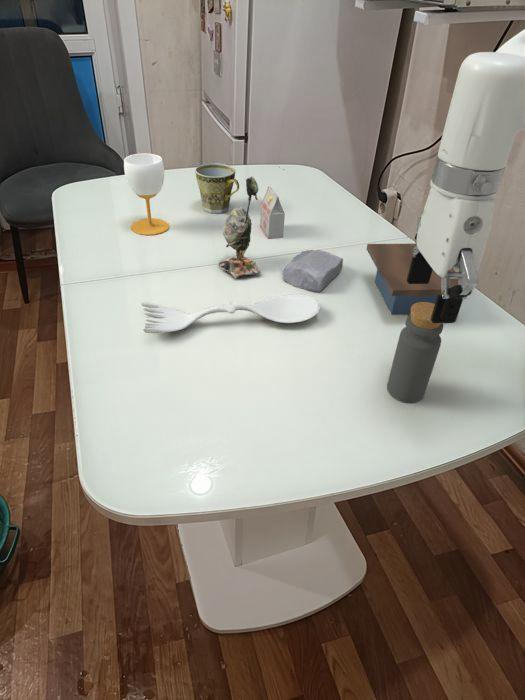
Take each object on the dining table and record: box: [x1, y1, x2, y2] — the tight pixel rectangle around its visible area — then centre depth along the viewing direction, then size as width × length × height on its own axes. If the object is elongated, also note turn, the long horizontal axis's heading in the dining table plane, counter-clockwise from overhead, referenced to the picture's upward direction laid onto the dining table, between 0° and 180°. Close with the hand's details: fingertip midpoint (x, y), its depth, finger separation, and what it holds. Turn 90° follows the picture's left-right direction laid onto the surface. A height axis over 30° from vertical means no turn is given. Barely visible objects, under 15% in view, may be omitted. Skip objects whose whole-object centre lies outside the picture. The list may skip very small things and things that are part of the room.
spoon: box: [140, 293, 321, 334], centre depth 92 cm, size 9×32×4 cm, turn 103°
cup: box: [123, 152, 170, 236], centre depth 118 cm, size 9×9×16 cm
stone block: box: [282, 249, 344, 293], centre depth 106 cm, size 12×5×10 cm
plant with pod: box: [218, 175, 261, 279], centre depth 103 cm, size 8×11×20 cm
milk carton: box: [259, 186, 286, 240], centre depth 120 cm, size 4×7×10 cm, turn 17°
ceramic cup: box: [194, 163, 240, 214], centre depth 129 cm, size 13×10×10 cm
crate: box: [374, 268, 438, 315], centre depth 100 cm, size 10×12×6 cm
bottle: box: [386, 302, 444, 404], centre depth 75 cm, size 6×6×15 cm
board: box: [366, 243, 458, 296], centre depth 98 cm, size 14×18×1 cm
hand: (429, 301), depth 70 cm, fingers open, 9 cm apart
